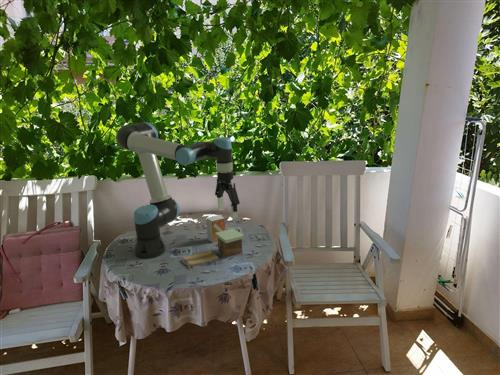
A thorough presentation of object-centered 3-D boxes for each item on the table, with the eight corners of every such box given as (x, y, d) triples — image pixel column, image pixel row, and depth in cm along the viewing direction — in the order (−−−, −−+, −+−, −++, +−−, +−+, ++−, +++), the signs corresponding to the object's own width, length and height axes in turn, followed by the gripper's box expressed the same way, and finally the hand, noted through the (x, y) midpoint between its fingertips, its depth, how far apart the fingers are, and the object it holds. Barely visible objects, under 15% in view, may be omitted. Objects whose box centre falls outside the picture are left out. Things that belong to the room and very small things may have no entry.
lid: (215, 238, 192) (215, 233, 191) (233, 233, 197) (232, 228, 196) (226, 246, 183) (225, 240, 182) (244, 241, 188) (243, 235, 187)
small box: (213, 244, 204) (211, 221, 200) (207, 240, 209) (205, 217, 205) (226, 240, 208) (225, 217, 204) (220, 236, 213) (219, 214, 210)
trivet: (183, 260, 187) (182, 257, 187) (209, 252, 194) (209, 249, 194) (191, 268, 179) (191, 265, 179) (218, 260, 186) (218, 257, 186)
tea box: (218, 253, 193) (217, 236, 191) (234, 248, 198) (233, 232, 195) (226, 259, 187) (225, 242, 184) (242, 254, 191) (241, 237, 189)
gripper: (245, 174, 172) (248, 219, 178) (219, 165, 192) (222, 205, 198) (230, 177, 168) (233, 223, 174) (206, 167, 189) (209, 208, 195)
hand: (227, 214), depth 186 cm, fingers open, 13 cm apart
